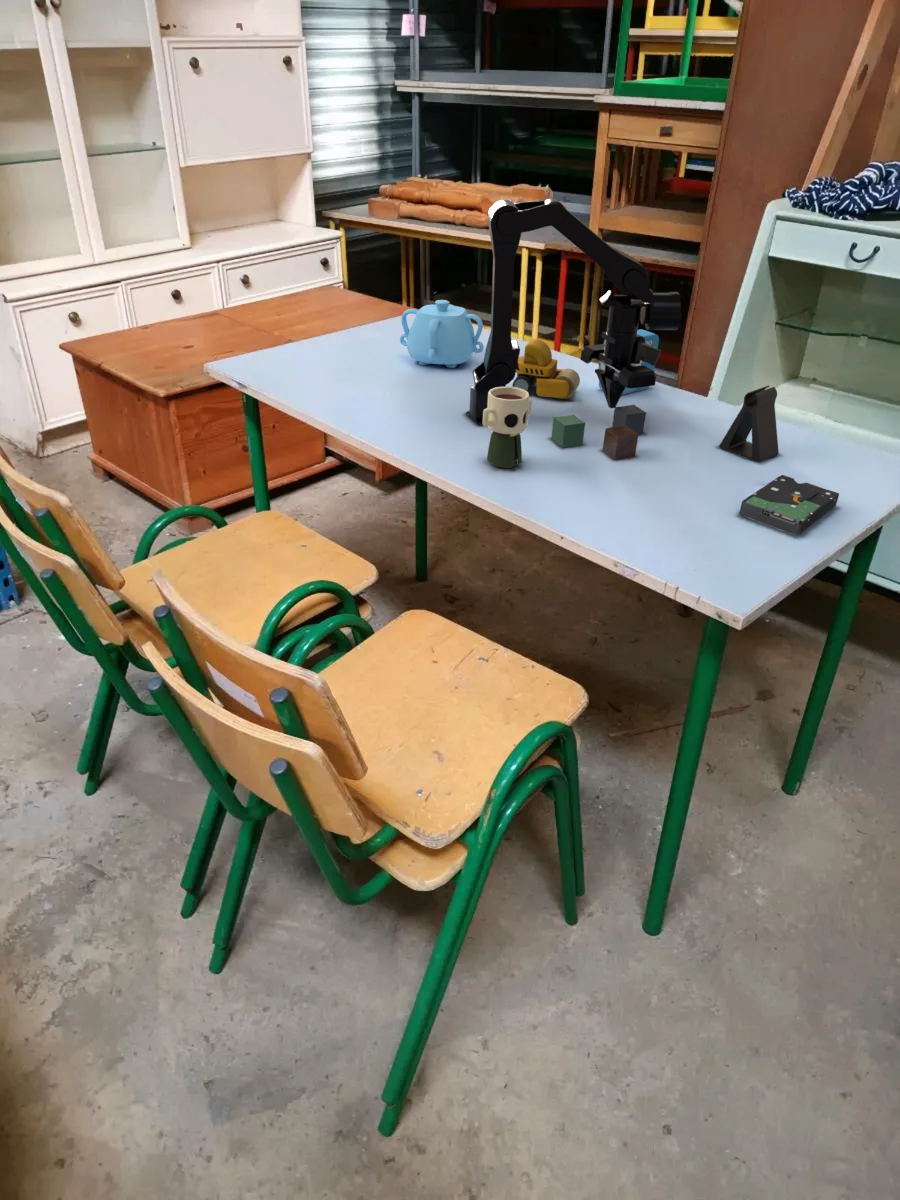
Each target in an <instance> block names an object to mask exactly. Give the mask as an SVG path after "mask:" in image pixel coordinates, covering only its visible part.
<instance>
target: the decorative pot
mask: <svg viewBox="0 0 900 1200" xmlns="http://www.w3.org/2000/svg"><path fill="white" fill-rule="evenodd" d="M434 303H435V304H426V305H423V306H422V307H420V308H419V309H417V308H408V309H407V310H404V312H403V313H402V315H401V326H402V329H403V334H401V335H400V336H399V343H400V344H401V345H402V346H403V347H406V350H407V353H408V354H409V355H410V357H411V358H412V360H414V361H416V362H418V364H419V365H421V366H428V365H432V364H433V365H445V367H446V368H450V369H453V368H454V369H455V368H456V367H457V366H458V365H460V364H463V363H465V362H467V361H468V360H469V359H470V357H471V356H472V354H473V353H474V354H481V353H482V352H483V351H484V348H485V347H484V343H483V342H482V341H479V339H480V337H481V335H482V332H483V327H484V324H483V323H484V322H483V320H482V318H481V317H479V316H478V315H477V314H474V313H468V311H467V310H466V308H464V307H462V306H458V305H453V304H451V303H450V301H449V300H446V299H437V300H435V302H434ZM410 314H413V315H415V316H414V319H413V321H412V322H411V326H410V327H409V325H408V321H407V317H408V315H410ZM472 320H474V321H475V322H476V323H477V330H476V333H475V330H474V326H473V323H472ZM405 339H406V340H405ZM477 346H479V348H478V347H477Z"/></svg>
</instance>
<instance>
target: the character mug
mask: <svg viewBox="0 0 900 1200" xmlns="http://www.w3.org/2000/svg"><path fill="white" fill-rule="evenodd" d="M529 393H530V392H529ZM529 393H528V392H527V391H525V390H524V389H521V388H517V387H513V386H505V387H496V388H493V389H491V390H490V391H489V392H488V404H487V408H486V409H484V411H483V424H482V426H483V428H487V429H489V430H490V431H492V432H491V434H490V438H489V444H488V447H487V448H488V449H487V454H486V459H487V461H488V462H489V463H490V464H492V465H494V466H496V467H498V468H499V467H500V468H514V467H515V462H516V461H517V466H520V465H521V464H522V463H523V455H522V454H523V453H522V452H523V449H522V436H521V434H522V433H523V432H524V431H525V430H526V429H527V427H528V424H529V423H528V422H529V416H530V415H531V413H532V406H533V400H532V398H531V397H530V394H529Z"/></svg>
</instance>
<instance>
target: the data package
mask: <svg viewBox="0 0 900 1200" xmlns="http://www.w3.org/2000/svg"><path fill="white" fill-rule="evenodd" d="M637 334H638V335H641V336H643V337H645V343H647V344H649V345H651V346H653V347H655V348H657V349H659V343H660V337H659V335H658V334H656V333H654V332H652V331H649V330H646V329H637ZM605 341H606V340H605V339H604V341H603V344H605ZM631 365H632V366H642V365H644V366H646V367H648V368H649V369H651V370H653V371H654V372H655V368H656V365H655V366H652V365H650V364H649V363H646V362H643V361H641V360H640V364H631ZM598 387H599V389H600V390H601V391H603V389H602V386H601V384H600V381H599V380H598ZM650 387H651V386H647V387H639V388H627V387H626V388H625V390H624V391H623V393H622V395H625V394H626V395H627V394H630V393H635V392H639V391H643V390H648V389H649V388H650Z"/></svg>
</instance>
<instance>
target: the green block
mask: <svg viewBox="0 0 900 1200" xmlns="http://www.w3.org/2000/svg"><path fill="white" fill-rule="evenodd" d="M585 428H586V422H585V421H584V420H582V419H581V418H579V417H578V416H576V415H575V414H569V415H559V416H553V418H552V428H551V437H550V439H551V440H552V441H553V442H554V443H556V445H558V446H559V447H560V448H562V449H563V448H570V447H571V448H572V447H578V446H583V445H584V439H585V438H584V436H585Z"/></svg>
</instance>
